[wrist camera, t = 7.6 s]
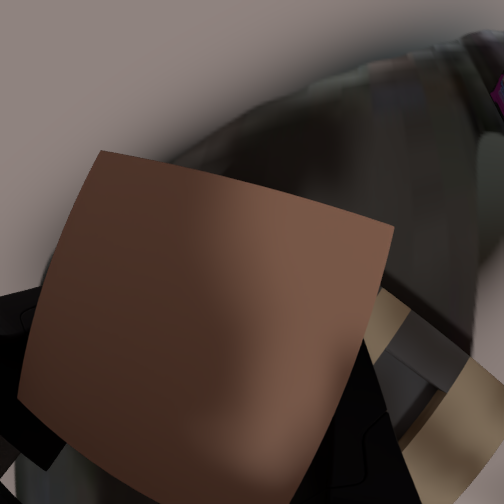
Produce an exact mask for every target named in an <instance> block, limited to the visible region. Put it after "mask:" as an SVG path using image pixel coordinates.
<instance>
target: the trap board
mask: <svg viewBox="0 0 504 504" xmlns="http://www.w3.org/2000/svg"><path fill="white" fill-rule="evenodd" d="M364 340H365V343H366V346H367V349H368V352H369V355H370V357H371V360H372V363H373V366H374V369H375V372H376V375H377V378H378V381H379V384H380V387H381V390H382V393H383V396H384V400H385V403H386V406H387V409H388V410H387V412H388V413H389V415H390V419H391V422H392V425H393V428H394V431H395V434H396V437H397V441H398V444H399V446H400V449H401V451H402V454H403V457H404V459H405V462H406V464H407V467H408V469H409V472H410V474H411V477H412V479H413V482H414V484H415V487H416V489H417V492H418V494H419V497H420V500H421V502H422V504H453V503H454V502H455V501H456V500H457V499H458V498H459V496H460V495H461V494H462V493H463V492H464V491H465V490H466V489H467V487H468V486H469V485H470V484H471V483H472V481H473V480H474V479H475V478H476V477H477V475H478V474H479V473H480V471H481V470H482V469H483V468H484V466H485V465H486V464H487V462H488V461H489V460H490V458H491V457H492V456H493V454H494V453H495V451H496V450H497V449H498V447H499V446H500V444H501V443H502V441H503V440H504V385H503V384H502V383H501V382H500V381H498V380H497V379H496V378H495V377H494V376H493V375H491V374H490V373H489V372H488V371H487V370H486V369H484V368H483V367H482V366H481V365H480V364H478V363H477V362H476V361H475V360H474V359H473V358H471V357H470V356H469V355H468V354H466V353H465V352H464V351H463V350H462V349H460V348H459V347H458V346H457V345H455V344H454V343H453V342H452V341H451V340H449V339H448V338H447V337H446V336H444V335H443V334H442V333H441V332H439V331H438V330H437V329H436V328H434V327H433V326H432V325H431V324H429V323H428V322H427V321H425V320H424V319H423V318H422V317H420V316H419V315H418V314H416V313H415V312H414V311H413V310H411V309H410V308H409V307H407V306H406V305H405V304H404V303H402V302H401V301H400V300H398V299H397V298H396V297H394V296H393V295H392V294H390V293H389V292H388V291H386V290H385V289H384V288H382V287H381V286H379V290H378V293H377V297H376V300H375V303H374V307H373V310H372V313H371V316H370V319H369V322H368V326H367V329H366V332H365V335H364Z"/></svg>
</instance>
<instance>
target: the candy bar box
mask: <svg viewBox="0 0 504 504" xmlns="http://www.w3.org/2000/svg"><path fill="white" fill-rule="evenodd" d="M490 95H491V97H492V99H493V101H494V103H495V105H496V107H497V108H498V110H499V112H500V114H501V116H502V118H503V120H504V71H503V73H502V74H501V76H500V78H499V80H498V81H497V83H496V85H495V86H494V88H493V90H492V91H491V93H490Z"/></svg>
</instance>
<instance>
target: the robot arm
mask: <svg viewBox="0 0 504 504" xmlns="http://www.w3.org/2000/svg"><path fill="white" fill-rule="evenodd" d="M42 287H43V286H39V287H36V288H32V289H28V290H25V291H20V292H16V293H12V294H9V295H4V296H0V478H1V477H2V476H3V475H4V473H5V472H6V471H7V470H8V468H9V467H10V466H11V465H12V463H13V462H14V461H15V460H16V459H17V457H18V456H19V455H20V454H21V453H22V454H23V455H24V456H26V457H27V458H28V459H30V460H31V461H32V462H33V463H35V464H36V465H38V466H39V467H40V468H42V469H43V470H44V471H47V470H48V469H49V468H50V466H51V465H52V463H53V462H54V461H55V459H56V458H57V456H58V455H59V453H60V452H61V450H62V449H63V448H64V446H65V445H66V443H67V442H65V441H64V440H63V439H62V438H60V437H59V436H58V435H57V434H56V433H54V432H53V431H52V430H51V429H50V428H49V427H47V426H46V425H45V424H44V423H43V422H42V421H41V420H39V419H38V418H37V417H36V416H35V415H34V414H33V413H32V412H31V411H30V410H29V409H28V408H27V407H26V406H25V405H24V404H23V403H22V402H21V401H20V400H19V399H18V398H17V395H18V389H19V382H20V376H21V371H22V366H23V360H24V356H25V351H26V346H27V342H28V338H29V333H30V329H31V325H32V322H33V318H34V314H35V310H36V307H37V303H38V300H39V297H40V293H41V290H42ZM387 410H388V409H387V406H386V403H385V400H384V396H383V393H382V390H381V387H380V384H379V381H378V378H377V375H376V372H375V369H374V366H373V363H372V360H371V357H370V355H369V352H368V349H367V346H366V343H365V340H364V338H363V340H362V343H361V346H360V349H359V352H358V355H357V357H356V360H355V363H354V366H353V368H352V371H351V373H350V376H349V379H348V381H347V384H346V386H345V389H344V391H343V394H342V396H341V399H340V401H339V403H338V406H337V408H336V410H335V413H334V415H333V417H332V420H331V422H330V424H329V426H328V428H327V431H326V433H325V435H324V437H323V439H322V441H321V444H320V446H319V448H318V450H317V452H316V454H315V456H314V458H313V460H312V462H311V464H310V466H309V468H308V470H307V472H306V474H305V475H304V477H303V479H302V481H301V483H300V485H299V487H298V488H297V490H296V492H295V494H294V496H293V497H292V499H291V501H290V503H289V504H422V502H421V500H420V497H419V494H418V492H417V489H416V487H415V484H414V482H413V479H412V477H411V474H410V472H409V469H408V467H407V464H406V462H405V459H404V457H403V454H402V451H401V449H400V446H399V444H398V441H397V437H396V434H395V431H394V428H393V425H392V422H391V419H390V415H389V413H388V412H387ZM0 504H22V503H21V502H20V501H19V500H18V499H17V498H16V497H15V496H14V495H13V494H12V493H11V492H10V491H9V490H8V489H7V488H6V487H5V486H4V485H3V484H2V483H1V481H0Z"/></svg>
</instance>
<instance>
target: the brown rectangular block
mask: <svg viewBox="0 0 504 504" xmlns="http://www.w3.org/2000/svg"><path fill="white" fill-rule="evenodd" d="M393 232H394V226H391V225H388V224H385V223H382V222H379V221H376V220H373V219H370V218H367V217H364V216H361V215H358V214H355V213H352V212H348V211H345V210H342V209H339V208H336V207H332V206H329V205H326V204H322V203H319V202H316V201H312V200H309V199H306V198H302V197H299V196H295V195H292V194H288V193H285V192H281V191H277V190H274V189H270V188H266V187H263V186H259V185H255V184H251V183H248V182H244V181H240V180H236V179H232V178H228V177H224V176H220V175H216V174H212V173H207V172H203V171H199V170H195V169H190V168H186V167H182V166H177V165H173V164H168V163H163V162H158V161H154V160H149V159H144V158H139V157H134V156H129V155H123V154H118V153H113V152H107V151H102V150H101V151H100V153H99V155H98V156H97V158H96V160H95V162H94V164H93V166H92V168H91V170H90V172H89V174H88V176H87V178H86V180H85V182H84V184H83V186H82V188H81V190H80V192H79V195H78V197H77V199H76V201H75V203H74V205H73V208H72V210H71V212H70V215H69V217H68V219H67V222H66V224H65V226H64V229H63V231H62V234H61V236H60V239H59V242H58V244H57V247H56V249H55V252H54V255H53V257H52V260H51V263H50V266H49V269H48V272H47V275H46V278H45V281H44V284H43V287H42V290H41V293H40V297H39V300H38V303H37V307H36V310H35V314H34V318H33V322H32V325H31V329H30V333H29V338H28V342H27V346H26V351H25V356H24V360H23V366H22V371H21V376H20V382H19V389H18V395H17V398H18V399H19V400H20V401H21V402H22V403H23V404H24V405H25V406H26V407H27V408H28V409H29V410H30V411H31V412H32V413H33V414H34V415H35V416H36V417H37V418H38V419H39V420H41V421H42V422H43V423H44V424H45V425H46V426H47V427H49V428H50V429H51V430H52V431H53V432H54V433H56V434H57V435H58V436H59V437H60V438H62V439H63V440H64V441H65V442H67V443H68V444H69V445H70V446H72V447H73V448H74V449H75V450H77V451H78V452H79V453H81V454H82V455H83V456H85V457H86V458H88V459H89V460H90V461H92V462H93V463H95V464H96V465H97V466H99V467H100V468H102V469H103V470H105V471H106V472H108V473H109V474H111V475H112V476H114V477H115V478H117V479H118V480H120V481H122V482H123V483H125V484H127V485H128V486H130V487H132V488H133V489H135V490H137V491H138V492H140V493H142V494H144V495H145V496H147V497H149V498H151V499H153V500H155V501H156V502H158V503H160V504H289V503H290V501H291V499H292V497H293V496H294V494H295V492H296V490H297V488H298V487H299V485H300V483H301V481H302V479H303V477H304V475H305V474H306V472H307V470H308V468H309V466H310V464H311V462H312V460H313V458H314V456H315V454H316V452H317V450H318V448H319V446H320V444H321V441H322V439H323V437H324V435H325V433H326V431H327V428H328V426H329V424H330V422H331V420H332V417H333V415H334V413H335V410H336V408H337V406H338V403H339V401H340V399H341V396H342V394H343V391H344V389H345V386H346V384H347V381H348V379H349V376H350V373H351V371H352V368H353V366H354V363H355V360H356V357H357V355H358V352H359V349H360V346H361V343H362V340H363V338H364V335H365V332H366V329H367V326H368V322H369V319H370V316H371V313H372V310H373V307H374V303H375V300H376V297H377V293H378V290H379V286H380V283H381V279H382V276H383V272H384V268H385V264H386V260H387V257H388V253H389V248H390V244H391V240H392V236H393Z"/></svg>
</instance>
